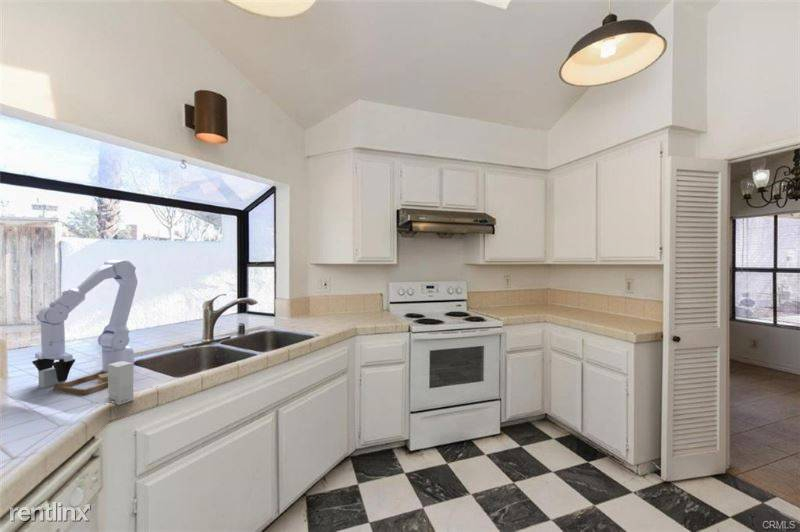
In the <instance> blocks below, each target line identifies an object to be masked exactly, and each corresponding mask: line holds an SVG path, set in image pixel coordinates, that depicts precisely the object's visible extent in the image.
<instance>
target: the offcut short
mask: <svg viewBox="0 0 800 532" xmlns="http://www.w3.org/2000/svg"><path fill="white" fill-rule="evenodd" d="M97 380H98V381H100V382H99V383H100V384H102V383H105V382H108V373H104V374H99V375H98V378H97Z"/></svg>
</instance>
